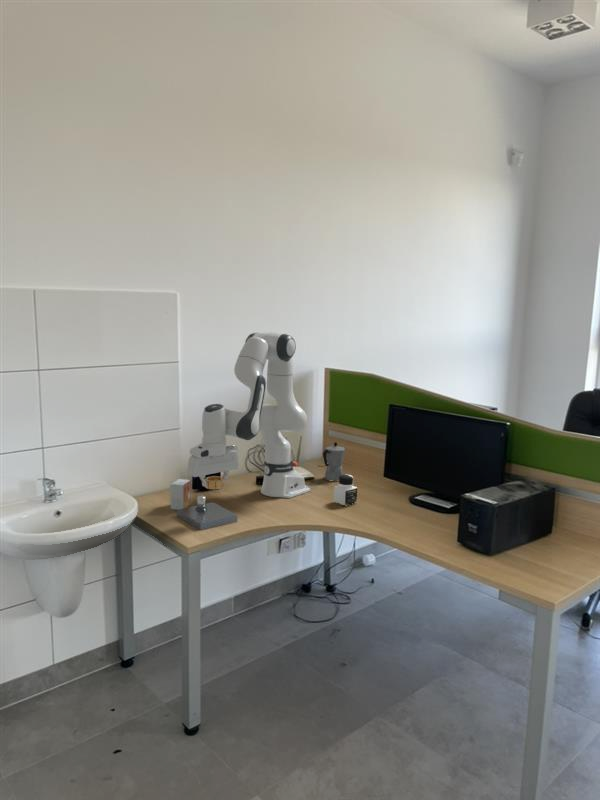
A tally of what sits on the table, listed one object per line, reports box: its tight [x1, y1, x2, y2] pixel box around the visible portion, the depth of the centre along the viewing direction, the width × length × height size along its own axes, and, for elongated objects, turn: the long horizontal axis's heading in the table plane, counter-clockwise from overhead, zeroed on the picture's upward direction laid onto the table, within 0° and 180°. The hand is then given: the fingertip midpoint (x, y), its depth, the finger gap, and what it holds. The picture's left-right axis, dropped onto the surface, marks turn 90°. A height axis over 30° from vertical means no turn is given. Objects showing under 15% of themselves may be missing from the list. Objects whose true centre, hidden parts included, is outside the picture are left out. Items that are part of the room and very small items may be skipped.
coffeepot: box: [322, 442, 346, 482], centre depth 290 cm, size 15×9×18 cm, turn 138°
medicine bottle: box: [333, 473, 358, 506], centre depth 257 cm, size 7×7×12 cm
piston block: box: [176, 494, 239, 531], centre depth 233 cm, size 16×18×8 cm
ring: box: [204, 475, 225, 490], centre depth 228 cm, size 7×7×3 cm
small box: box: [170, 478, 192, 511], centre depth 245 cm, size 8×6×10 cm
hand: (214, 483), depth 228 cm, fingers closed on ring, 7 cm apart
